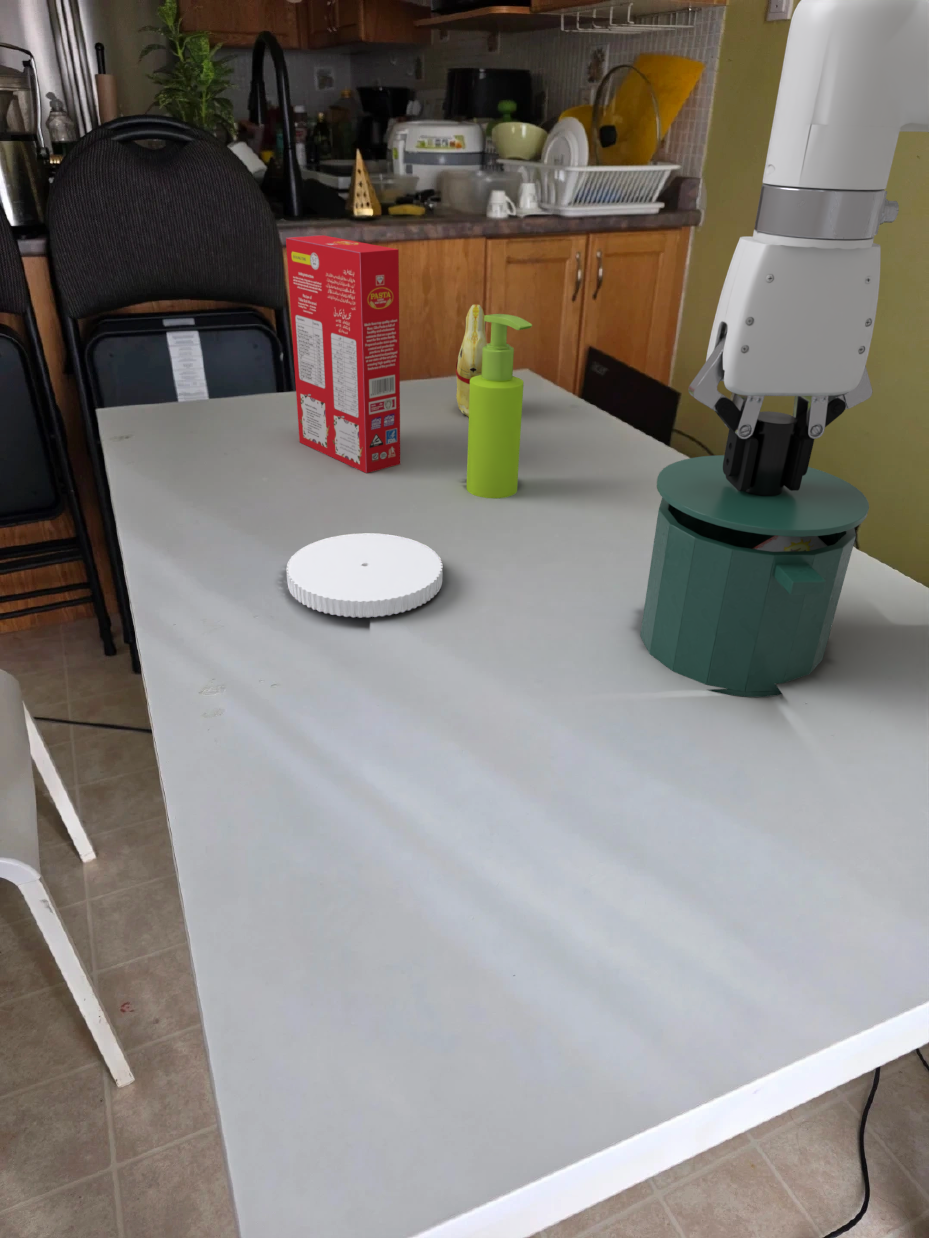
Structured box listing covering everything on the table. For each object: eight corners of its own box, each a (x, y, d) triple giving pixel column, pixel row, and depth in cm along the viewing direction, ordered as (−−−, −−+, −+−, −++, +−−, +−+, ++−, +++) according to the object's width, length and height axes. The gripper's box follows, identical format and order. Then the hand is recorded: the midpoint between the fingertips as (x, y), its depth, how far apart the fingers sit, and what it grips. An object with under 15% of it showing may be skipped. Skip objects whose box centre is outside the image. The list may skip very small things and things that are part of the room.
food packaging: (400, 464, 110) (398, 249, 98) (366, 473, 107) (360, 252, 95) (332, 434, 120) (323, 235, 107) (299, 442, 117) (285, 237, 104)
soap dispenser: (497, 509, 98) (506, 324, 89) (456, 491, 103) (460, 313, 93) (533, 497, 102) (546, 318, 92) (492, 480, 106) (500, 307, 96)
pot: (763, 590, 83) (790, 469, 77) (868, 714, 66) (913, 570, 60) (614, 594, 82) (629, 470, 76) (681, 721, 64) (708, 574, 58)
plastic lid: (418, 637, 74) (418, 611, 72) (262, 614, 76) (260, 589, 75) (458, 566, 86) (458, 543, 84) (322, 549, 88) (320, 525, 87)
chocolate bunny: (453, 420, 127) (455, 312, 120) (456, 399, 137) (459, 297, 129) (500, 422, 127) (506, 313, 120) (500, 400, 137) (505, 299, 129)
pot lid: (809, 467, 75) (827, 389, 71) (906, 543, 61) (934, 451, 58) (632, 468, 73) (642, 389, 70) (692, 546, 60) (709, 453, 57)
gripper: (904, 215, 62) (841, 466, 71) (676, 210, 60) (641, 468, 69) (968, 227, 55) (889, 502, 64) (714, 222, 53) (670, 505, 62)
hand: (761, 482), depth 66 cm, fingers closed on pot lid, 3 cm apart
